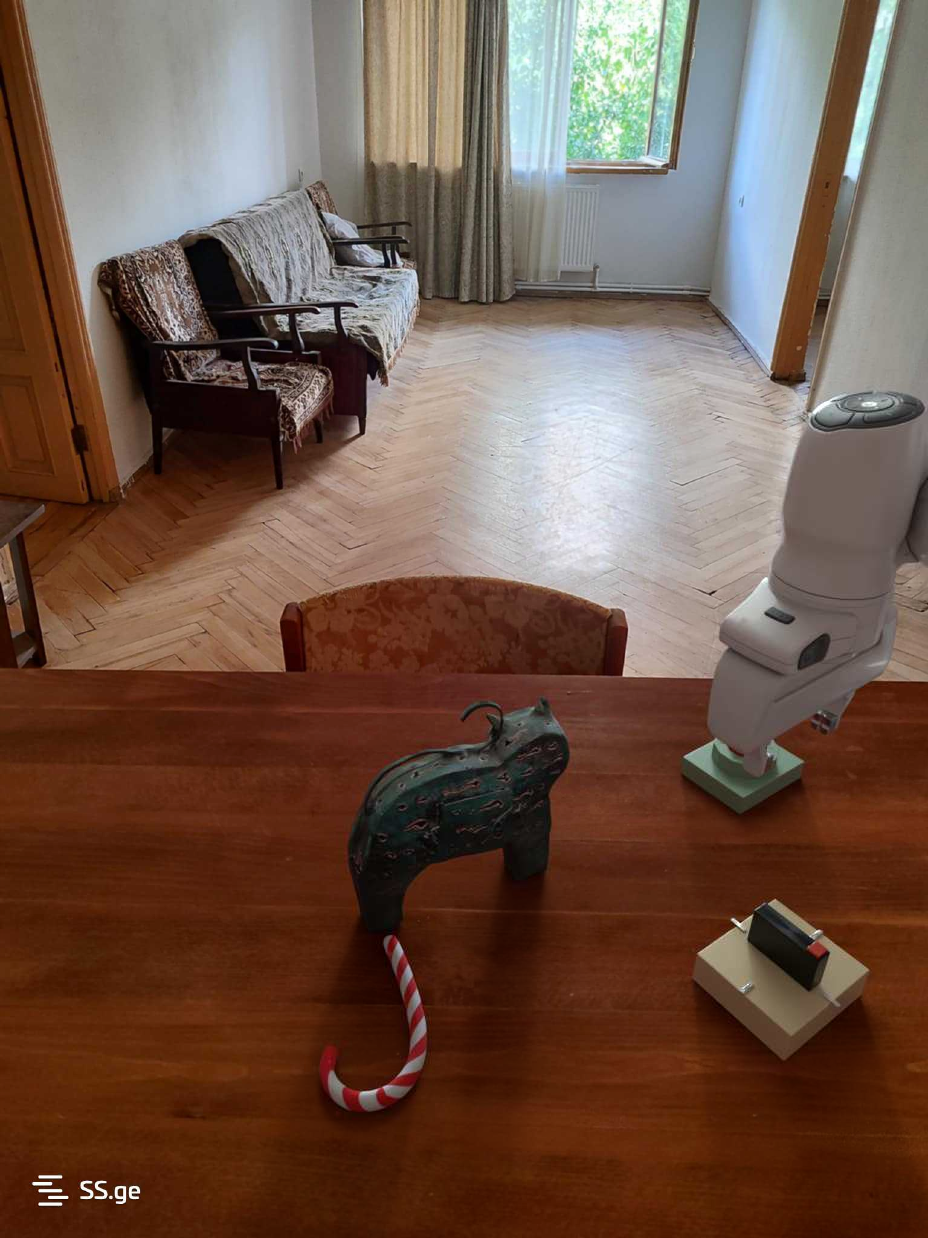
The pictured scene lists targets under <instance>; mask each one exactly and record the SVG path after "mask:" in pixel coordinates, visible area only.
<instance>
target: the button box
mask: <svg viewBox="0 0 928 1238" xmlns="http://www.w3.org/2000/svg"><path fill="white" fill-rule="evenodd" d="M766 751H768V752H769V753H771V754H773V755H774V757H773V762H772V764H771V769H770V770H768V771H767V772H765V773H764V774H762V775H761V776H760V777H755V776H754V775H752V774H751V773H749V772H747V771H746V770H745V769H744V768H743V765H742V763H743V758H744V757H741V756H738V755H736V754H735V753H733V752H731V751H730V749H729V747H728V746H727V745H726V744H724V743H723V742H721V741H720V740H718V739H717V738H715V737H714V740H712V741H710V742H708V743H706V744H705V745H703V746H701V747H698V748H697V749H695V750H694V751H692V752H689V753H688V754H686V755H684V756H683V757H682V761H681V767H680V774H681V775H683V776H685V777H686V778H687V779H688V780H690V781H692V782H693V783H694V784H696V785H697V786H699V787H700V788H702V789H703V790H704V791H706V792H707V793H709V794H710V795H711V796H713V797H715V798H716V799H718V800H719V801H720V802H722V803H723V804H724V805H726V806H727V807H729V808H730V809H732V810H733V811H735V812H736V813H737V814H739V815H741V814H743V813H745V812H746V811H748V810H749V809H751V808H753V807H755V806H756V805H758V804H759V803H761V802H762V801H764V800H766V799H768V798H769V797H770V796H772V795H774V794H776V793H777V792H779V791H781V790H782V789H784V788H785V787H787V786H789V785H791V784H792V783H794V782H796V781H797V780H798V779H799V780H800V778H801V777H802V772H803V770H804V765H805V761H804V760H803V759H801V758H799V757H797V756H796V755H794V754H793V753H791V752H790V751H788V750H786V749H784V748H783V747H781V745H780V746H779V745H778V744H777V743H776V742H775V740H774V739H772V740H771V743H770V745H768V746H766Z"/></svg>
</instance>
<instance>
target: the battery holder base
mask: <svg viewBox="0 0 928 1238" xmlns="http://www.w3.org/2000/svg"><path fill="white" fill-rule="evenodd" d="M767 904H768V905H770V906H771V907H772V908H774V909H775V910H776V911H777V912H779V913H780V914H781V915H783V916H784V917H785V918H787V919H788V920H789V921H790V922H792V923H793V924H794V925H796V926H797V927H798V928H799V929H801V930H802V931H803V932H805V933H806V934H807V935H808V936H810V937H811V938H812V939H814V940H815V941H818V942H819V943H820V944H822V945H823V946H824V947H826V948H827V949H828V951H829V952H830V955H829V958H828V962H827V965H826V968H825V971H824V974H823V977H822V981H821V983H820V984H819V985H818V986H816V987H815V988H814V989H813V990H811V991H810V992H809V991H807V990H806V989H805V988H804V987H803V986H801V985H800V984H799V983H798V982H797V981H795V980H794V979H793V978H792V977H790V976H789V975H788V974H787V973H786V972H784V971H783V970H782V969H781V968H780V967H778V966H777V965H776V964H775V963H774V962H772V961H771V960H770V959H769V958H767V957H766V956H765V955H764V954H763V953H761V952H760V951H759V950H758V949H757V948H755V947H754V946H753V945H752V944H751V943H749V942H748V941H747V938H748V934H749V929H750V925H751V921H752V917H753V914H752V915H750V916H749V917H747V918H746V919H744V920H743V921H742V922H739V921H738V920H737V919H735V918H734V917H733V918H731V919H730V922H731V923H732V924H733V925H734V926H735V927H733V928H732V929H730V930H729V931H728V932H726V933H725V934H723V935H722V936H721V937H719V938H717V939H716V940H714V941H713V942H712V943H710V944H709V945H708V946H706V947H705V948H703V949H702V950H700V951H699V952H697V953H696V958H695V962H694V968H693V972H692V980H693V981H694V982H695V983H697V984H698V985H699V986H700V987H701V988H702V989H703V990H704V991H705V992H706V993H707V994H709V995H710V996H711V997H712V998H713V999H714V1000H715V1001H716V1002H717V1003H718V1004H719V1005H721V1006H722V1007H723V1008H724V1009H725V1010H727V1011H728V1013H729V1014H731V1015H732V1016H733V1017H734V1018H735V1019H736V1020H737V1021H739V1022H740V1023H741V1024H742V1025H743V1026H744V1027H745V1028H746V1029H747V1030H749V1031H750V1033H751V1034H753V1035H754V1036H755V1037H756V1038H757V1039H759V1041H761V1042H762V1043H763V1044H764V1045H765V1046H766V1047H767V1048H768V1049H770V1050H771V1051H772V1053H774V1054H775V1055H776V1056H777V1057H778V1058H779V1059H780V1060H782V1062H784V1061H786V1060H787V1059H789V1057H790V1056H792V1055H793V1054H794V1053H795V1052H796V1051H797V1050H799V1049H800V1048H801V1047H802V1046H804V1045H805V1044H806V1043H807V1042H808V1041H809V1040H811V1039H812V1038H813V1037H814V1036H815V1035H816V1034H818V1032H819V1031H821V1030H822V1029H823V1028H824V1027H825V1026H827V1025H828V1024H829V1023H830V1022H831V1021H832V1020H834V1019H835V1018H836V1017H837V1016H838V1015H840V1014H841V1013H842V1012H843V1011H844V1010H845V1009H847V1008H848V1007H849V1006H850V1005H851V1004H852V1003H854V1002H855V1000H857V999H858V998H859V997H860V996H862V993H863V990H864V987H865V985H866V982H867V979H868V977H869V973H870V969H869V968H867V966H865V965H864V964H862V963H861V962H859V961H858V959H856V958H855V957H853V956H852V955H850V954H849V953H847V952H846V951H845V950H844V949H842V948H841V947H840V946H838V945H837V944H835V943H834V942H833V941H832V940H830V938H828V937H827V936H825V935H824V931H823V930H821V929H818V930H817V929H816V928H815V927H814V926H812V925H811V924H809V923H808V922H807V921H805V920H804V919H803V918H801V917H800V916H799V915H798V914H796V913H795V912H794V911H792V910H791V909H789V908H788V907H787V906H786V905H784V904H783V903H782V902H780V901H779V900H778V899H776V898H774V899H773V900H771V901H770V902H769V903H767Z"/></svg>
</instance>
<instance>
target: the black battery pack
mask: <svg viewBox="0 0 928 1238" xmlns="http://www.w3.org/2000/svg"><path fill="white" fill-rule="evenodd" d="M768 904H769V903H767V902H764V903H763V904H761V905H760V906H758V907H757V908H755V909H754V910H753V913H752V915H753V917H752V921H751V925H750V929H749V934H748V938H747V941H748V942H749V943H751V944H752V945H753V946H754V947H755V948H757V949H758V950H759V951H760V952H761V953H763V954H764V955H765V956H766V957H767V958H769V959H770V960H771V961H772V962H774V963H775V964H776V965H777V966H778V967H780V968H781V969H782V970H783V971H784V972H786V973H787V974H788V975H789V976H790V977H792V978H793V979H794V980H795V981H797V982H798V983H799V984H800V985H801V986H803V987H804V988H805V989H806V990H807V991H809V992H810V991H811V990H813V989H814V988H815V987H816V986H818V985H819V984H820V983H821V981H822V977H823V974H824V971H825V968H826V965H827V962H828V958H829V955H830V952H829V951H828V949H827V948H826V947H824V946H823V945H822V944H820V943H819V942H818V941H815V940H814V939H812V938H811V937H810V936H808V935H807V934H806V933H805V932H803V931H802V930H801V929H799V928H798V927H797V926H796V925H794V924H793V923H792V922H790V921H789V920H788V919H787V918H785V917H784V916H783V915H781V914H780V913H779V912H777V911H776V910H775V909H774V908H772V907H771V906H770V905H768Z"/></svg>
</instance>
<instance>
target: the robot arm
mask: <svg viewBox="0 0 928 1238" xmlns="http://www.w3.org/2000/svg"><path fill="white" fill-rule="evenodd" d="M781 500H782V501H781V506H780V511H779V512H780V513H779V514H780V515H779V516H780V518H779V519H780V524H781V535H780V539H779V542H778V544H777V546H776V549H774V552H773V553H772V556H771V559H770V564H769V569H768V574H767V577H765V578H763V579H762V580H761V581H760V582H759V584H758V585H757V586H756V587H755V589H754V590H753V591H752V592H751V594H749V595H748V596H747V598H746V599H745V600H744V601H743V602H742V603H740V604H739V605H738V606H737V607H736V608H735V609H734V610H732V611H731V612H730V613H729V614H728V615H727V616H725V618H723V620H722V621H721V624H720V627H719V632H718V633H719V634H718V640H719V642H720V643H722V644H723V645H725V646H727V647H726V649H724V650H723V652H722V653H721V655H720V657H719V659H718V661H717V663H716V666H715V670H714V674H713V678H712V683H711V689H710V695H709V702H708V709H707V718H706V719H707V722H706V723H707V728H708V730H709V732H710V734H711V735H712V736H713V737H714V739H715V738H717V739H718V740H720V741H721V742H723V743H724V744H726V745H727V746H729V747H731V748H732V749H734V750H736V751H738V752H740V753H742V754H744V758H743V763H742V765H743V768H744V769H745V770H746V771H747V772H749V773H751V774H752V775H754V776H755V777H760V776H761V775H762V774H764V773H765V772H767V771H768V770H770V769H771V764H772V762H773V757H774V755H773V754H771V753H769V752H768V751H766V746H768V745H770V743H771V740H772V739H773V740H774V739H776V738H777V737H779V736H781V735H782V734H784V733H786V732H788V731H789V730H791V729H792V728H794V727H796V726H797V725H800V724H802V723H803V722H805V721H806V720H808V719H809V718H811V717H812V718H811V721H810V727H811V728H812V729H813V730H815V731H817V732H820V734H822V735H824V736H825V735H828V734H830V733H832V732H834V731H835V730H837V729H838V728H839V725H840V721H841V717H842V715H843V714H844V712H845V710H846V709H847V707H848V706H849V704H850V703H851V701H852V699H853V698H854V696H855V693H856V691H857V690H859V689H860V688H862V687H863V686H865V685H867V684H868V683H870V682H872V681H874V680H875V679H877V678H879V677H880V676H882V675H883V673H884V672H885V670H886V668H887V667H888V665H889V663H890V662H891V657H892V653H893V648H894V644H895V640H896V633H897V627H898V621H899V609H898V607H897V606H896V604H894V603H893V599H894V595H895V592H896V591H895V590H896V588H895V582H896V576H897V575H896V574H897V572H898V569H899V568H901V566H903V565H906V564H918V563H920V564H921V565H922V566H924V567H926V568H927V569H928V407H927V405H926V404H925V403H924V402H923V401H922V400H921V399H919V398H917V397H915V396H913V395H910V394H907V393H902V392H898V391H890V390H887V391H880V390H879V391H878V390H863V391H862V390H861V391H855V392H849V393H845V394H842V395H838V396H836V397H833V398H830V399H829V400H827V401H825V402H823V403H822V404H820V405H818V406H817V407H816V408H815V410H814V411H813V412H811V415H809V418H808V419H807V420H806V422H805V423H804V426H803V428H802V429H801V432H800V435H799V437H798V439H797V442H796V445H795V448H794V450H793V454H792V457H791V461H790V465H789V469H788V472H787V478H786V481H785V485H784V490H783V495H782V499H781Z"/></svg>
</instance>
